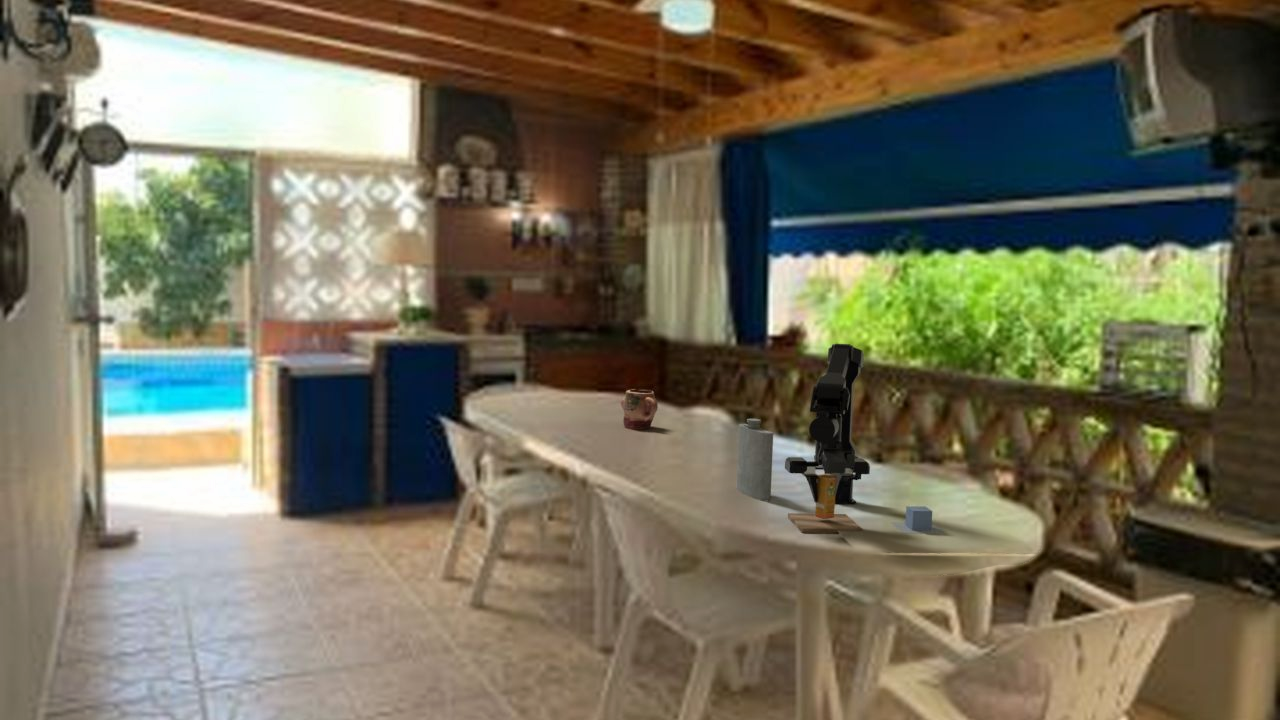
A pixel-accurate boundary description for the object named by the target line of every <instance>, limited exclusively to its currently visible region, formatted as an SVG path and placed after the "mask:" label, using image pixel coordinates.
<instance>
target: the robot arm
mask: <svg viewBox="0 0 1280 720" xmlns="http://www.w3.org/2000/svg"><path fill="white" fill-rule="evenodd" d="M827 349H828V352H827V361H826V362H827V364H828V366H827V369H826V373H825V374H823V375H821V376H820V377H818V380H817V382H816V385H814V386H813V389H812V393H811V394H812V395H811V401H810V407H809V413H816V417H815V418H814V419H813V420H812V421H811V423H810V424H809V428H808V431H809V434H810V436H811V438H812V439H813V440H814V443H815V449H814V455H813V459H814V461H813V460H812V461H811V460H806V459H804V458H803V457H800V456H799V457H798V456H797V457H796V456H795V457H794V456H791V457H790V456H787V458H786V459H785V461H784V469H785V470H786V471H787V472H788V473H790V474H801V475H802V476H803V477H805V479H806V481H807V483H808V486H809V489H810V492H811V496H812V498H813V501H814V503H815V504H816V503H817V497H818V495H817V478H818V475H819V474H818V473H816V470H823V471H824V472H823V474H831V475H834V476H836V492H835V504H857V500H856V499H854V498H853V489H854V481H859V480H862V475H870V474H871V473H870V470H871V467H870V463H869V462H868V461H867V460H866V459H864V458H862V457H859V456H858V448H857V446H856V445H855V443H854V441H853V440H852V432H853V431H852V427H853V409H854V389H855V388H854V383H855V381H856V379H857V378H858V376H859V375H860V374H861V368H863V367H864V359H865V358H864V357H865V356H864V355H865V354H864V351H863V350H862V349H860V348H857V347H854V345H853V344H850V343H834V344H833V343H832V344H831V347H829V348H827Z"/></svg>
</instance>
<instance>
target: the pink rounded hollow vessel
mask: <svg viewBox="0 0 1280 720" xmlns="http://www.w3.org/2000/svg"><path fill="white" fill-rule="evenodd" d="M624 394H625V395H624V397H623V398H622V400H621V401H620V406H621V408H622V409H623V412H624V413H623V425H624V428H627V429H630V430H645V429H646V430H647V429H649V428H651V427H652V422H653V420H654V418H655V415H656V413H657V411H658V408H659V407H658V401H657V399H656V397H655V393H654V391H653V390H651V389H638V388H637V389H636V388H633V389H629V390H626V391H625V393H624Z"/></svg>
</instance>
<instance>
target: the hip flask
mask: <svg viewBox="0 0 1280 720" xmlns="http://www.w3.org/2000/svg"><path fill="white" fill-rule="evenodd" d="M761 420H762V419H760V418H759V419H758V418H747V419H746V423H739V424H738V441H737V442H738V443H737V446H738V447H737V466H736V468H737V470H736V471H737V472H736V490H737V491H739V492H740V493H742V494H744V495H746V496H748V497H750V498H752V499H756V500H758V501H763V502H769V501H771V497H772V496H771V494H772V476H773V475H772V472H773V451H774V450H773V449H774V447H773V445H774V432H773V431H770V430H765V429H761V428H760V427H761V425H760V424H761V423H762V421H761Z"/></svg>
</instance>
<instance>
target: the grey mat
mask: <svg viewBox="0 0 1280 720" xmlns="http://www.w3.org/2000/svg"><path fill="white" fill-rule="evenodd" d="M889 523H890V524H892V525H893V526H894V527H895V528H896V529H898V530H899V531H900V532H901V533H903V534H906V535H907V534H909V535H910V534H913V535H916V534H917V535H918V534H919V535H921V534H922V535H923V534H924V535H948V533H947V532H946V531H944V530H943V529H942V528H940V527H939V526H937V525H935V524H934V523H933V522H932V527H931V531H927V530H911V529H910V528H908V527H907V526H906V525H905V524H906V521H905V522H904V521H903V522H901V521H900V522H897V521H896V522H894V521H892V522H891V521H890V522H889Z"/></svg>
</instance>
